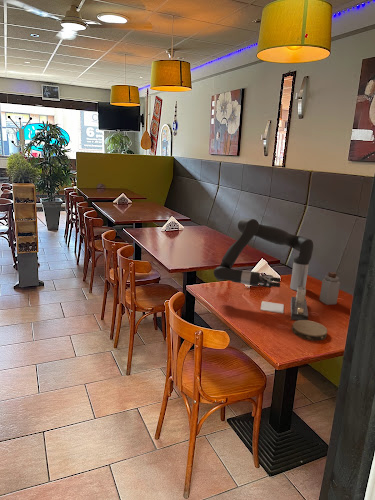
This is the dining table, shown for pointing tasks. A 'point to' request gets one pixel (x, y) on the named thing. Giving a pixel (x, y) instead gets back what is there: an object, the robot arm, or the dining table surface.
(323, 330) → the brown round disc
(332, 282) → the perfume bottle
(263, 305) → the rubber mat
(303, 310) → the hand plane
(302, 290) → the lever cap
